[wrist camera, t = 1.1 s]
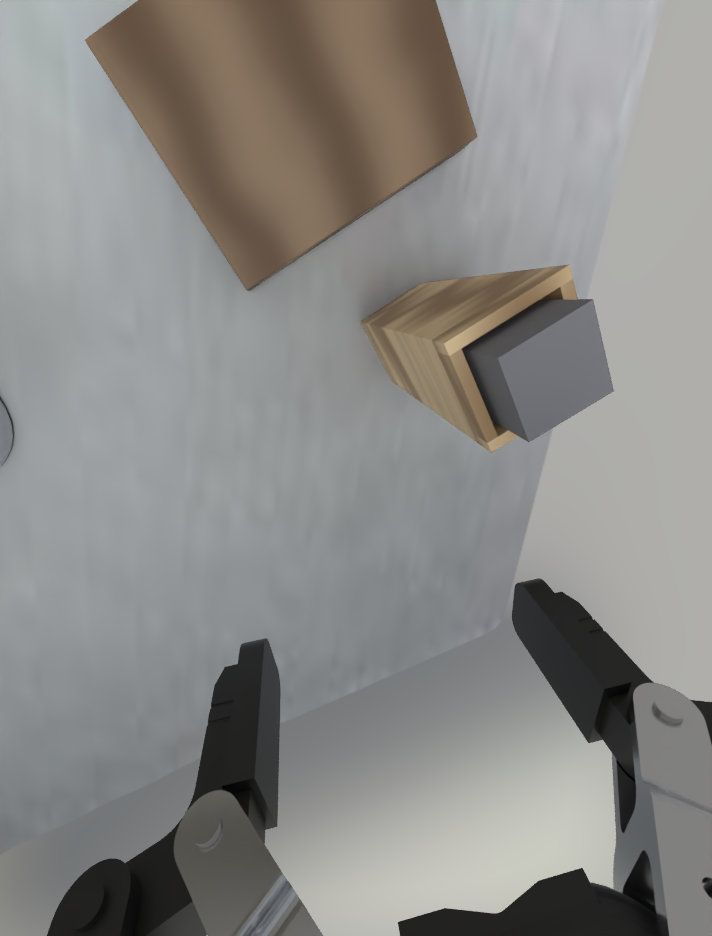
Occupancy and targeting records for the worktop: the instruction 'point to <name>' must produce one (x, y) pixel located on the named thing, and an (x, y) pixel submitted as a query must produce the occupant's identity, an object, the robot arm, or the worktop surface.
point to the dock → (287, 111)
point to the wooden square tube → (456, 339)
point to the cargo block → (541, 366)
